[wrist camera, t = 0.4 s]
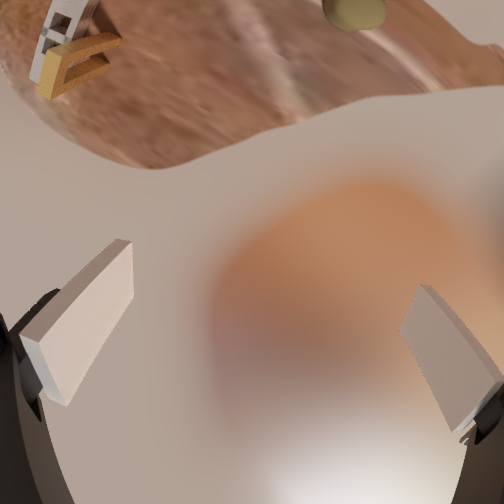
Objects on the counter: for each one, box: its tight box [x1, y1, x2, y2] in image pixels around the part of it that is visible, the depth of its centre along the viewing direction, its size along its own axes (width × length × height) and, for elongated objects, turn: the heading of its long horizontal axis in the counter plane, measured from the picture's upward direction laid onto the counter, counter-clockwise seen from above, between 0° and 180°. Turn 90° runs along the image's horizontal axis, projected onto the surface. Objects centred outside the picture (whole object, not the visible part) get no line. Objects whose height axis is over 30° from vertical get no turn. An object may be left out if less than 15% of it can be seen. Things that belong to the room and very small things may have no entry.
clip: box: [37, 32, 122, 100], centre depth 26 cm, size 3×6×13 cm, turn 143°
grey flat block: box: [29, 0, 100, 83], centre depth 26 cm, size 8×20×3 cm, turn 143°
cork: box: [323, 0, 387, 32], centre depth 19 cm, size 6×6×11 cm
